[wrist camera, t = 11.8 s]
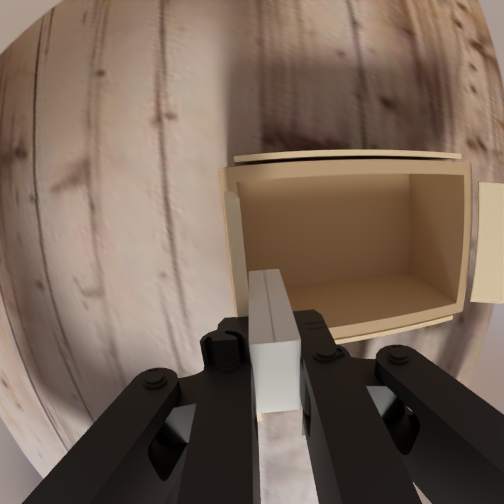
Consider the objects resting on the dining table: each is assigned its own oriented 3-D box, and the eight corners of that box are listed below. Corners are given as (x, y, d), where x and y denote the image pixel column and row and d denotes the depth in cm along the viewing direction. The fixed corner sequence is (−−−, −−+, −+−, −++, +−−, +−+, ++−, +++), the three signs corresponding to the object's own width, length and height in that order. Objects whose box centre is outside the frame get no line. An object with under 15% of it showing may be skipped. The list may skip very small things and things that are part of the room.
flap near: (248, 339, 20) (262, 420, 12) (241, 340, 20) (251, 422, 12) (232, 190, 18) (239, 198, 10) (224, 191, 18) (224, 200, 10)
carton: (241, 304, 32) (240, 357, 22) (226, 164, 28) (217, 157, 18) (412, 283, 32) (461, 318, 22) (412, 157, 28) (470, 154, 19)
